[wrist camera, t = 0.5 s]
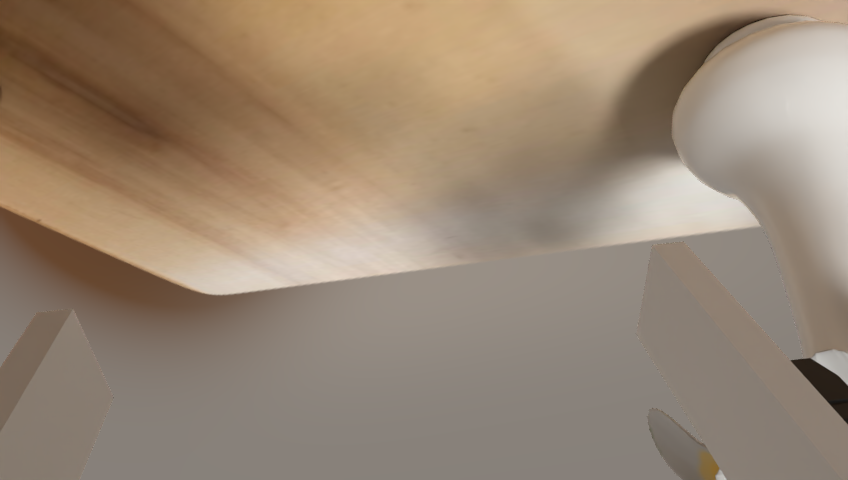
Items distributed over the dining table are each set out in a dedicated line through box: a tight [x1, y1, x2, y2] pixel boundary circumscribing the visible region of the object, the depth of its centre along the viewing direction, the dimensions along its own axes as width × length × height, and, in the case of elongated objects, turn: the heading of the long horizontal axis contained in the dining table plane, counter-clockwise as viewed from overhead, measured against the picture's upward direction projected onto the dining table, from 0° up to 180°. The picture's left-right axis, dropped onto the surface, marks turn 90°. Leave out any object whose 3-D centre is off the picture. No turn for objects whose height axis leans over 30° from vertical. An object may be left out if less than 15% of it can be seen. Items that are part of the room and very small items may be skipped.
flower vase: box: [647, 15, 848, 480], centre depth 23 cm, size 13×18×25 cm
